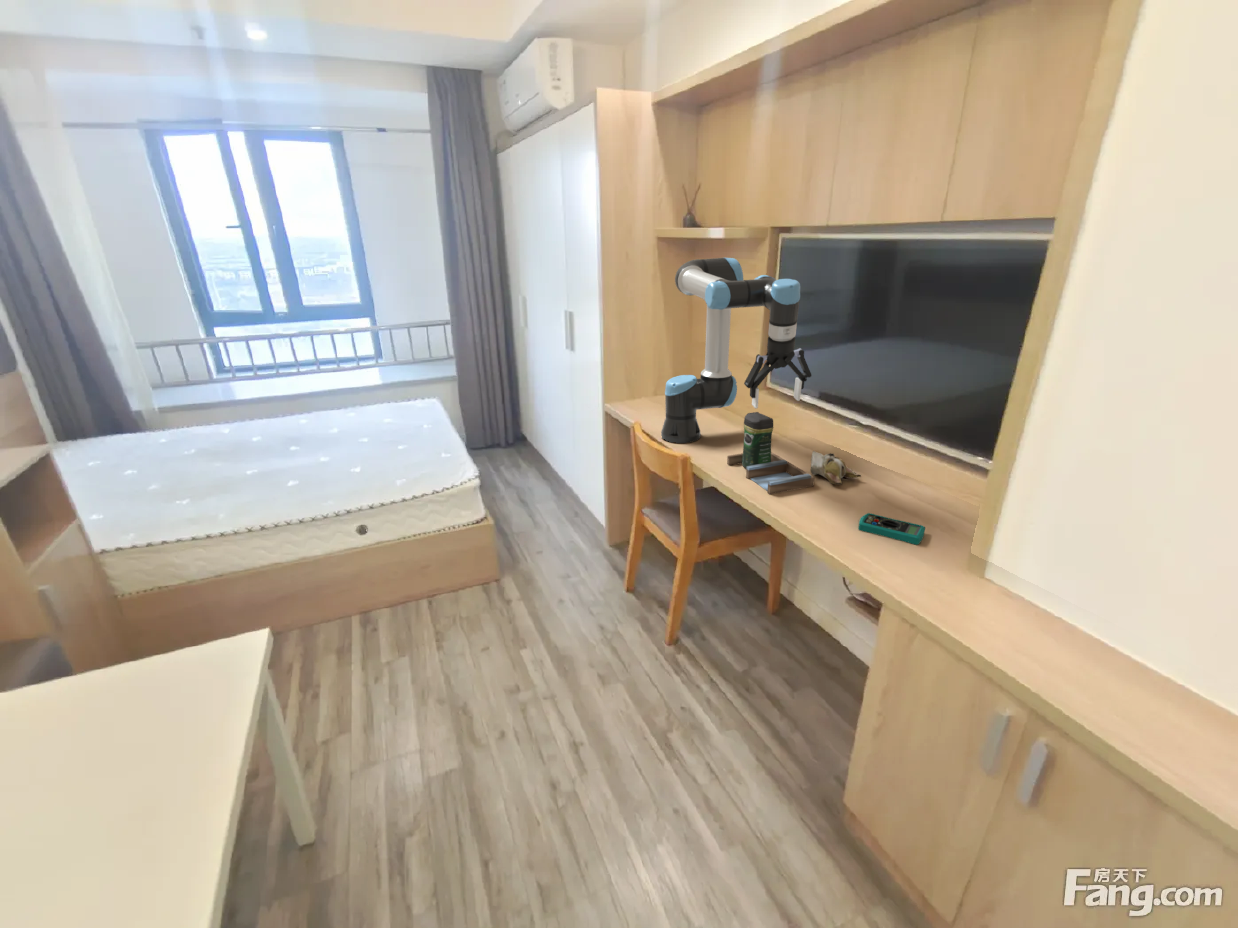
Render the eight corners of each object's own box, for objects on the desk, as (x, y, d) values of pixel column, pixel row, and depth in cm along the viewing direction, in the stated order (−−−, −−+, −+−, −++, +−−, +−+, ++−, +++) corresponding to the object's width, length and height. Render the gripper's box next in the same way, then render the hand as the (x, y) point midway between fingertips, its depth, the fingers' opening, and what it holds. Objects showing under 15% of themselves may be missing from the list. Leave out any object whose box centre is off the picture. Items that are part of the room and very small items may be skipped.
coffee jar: (774, 471, 181) (778, 416, 174) (753, 475, 179) (756, 420, 172) (758, 461, 190) (761, 408, 183) (737, 464, 187) (740, 412, 180)
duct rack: (727, 464, 188) (727, 453, 187) (766, 457, 193) (767, 447, 191) (770, 494, 165) (770, 483, 164) (813, 486, 169) (814, 474, 168)
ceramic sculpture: (824, 442, 179) (866, 458, 168) (820, 466, 183) (861, 483, 171) (802, 450, 174) (843, 467, 162) (799, 475, 177) (839, 493, 166)
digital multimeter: (863, 520, 149) (865, 510, 148) (925, 535, 141) (926, 524, 140) (855, 531, 144) (856, 521, 143) (918, 547, 135) (920, 536, 134)
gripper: (745, 348, 153) (741, 415, 165) (829, 334, 156) (819, 401, 168) (734, 338, 159) (732, 403, 171) (816, 325, 162) (807, 390, 174)
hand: (775, 402), depth 169 cm, fingers open, 13 cm apart
